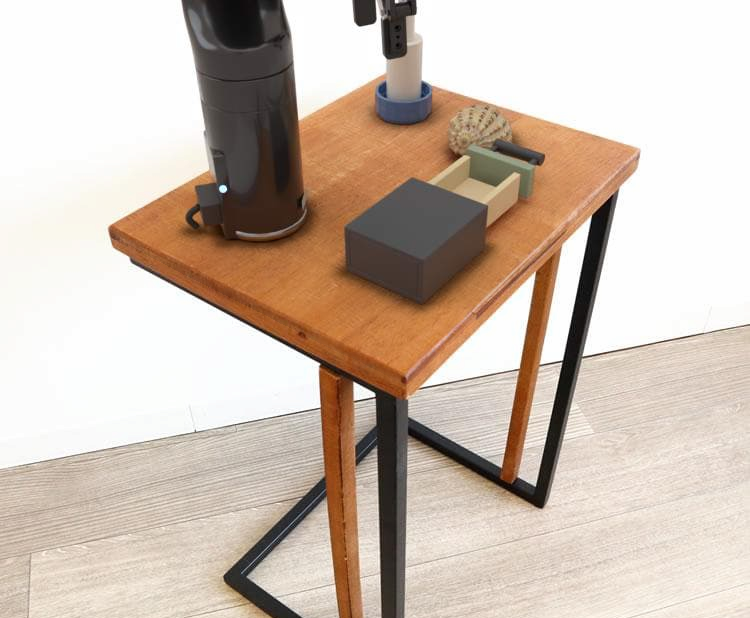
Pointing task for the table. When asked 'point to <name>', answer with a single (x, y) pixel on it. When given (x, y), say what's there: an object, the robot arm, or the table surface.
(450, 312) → the table surface
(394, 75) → the bottle
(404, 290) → the cabinet
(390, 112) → the bowl
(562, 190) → the table surface
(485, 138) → the seashell
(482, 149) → the drawer
